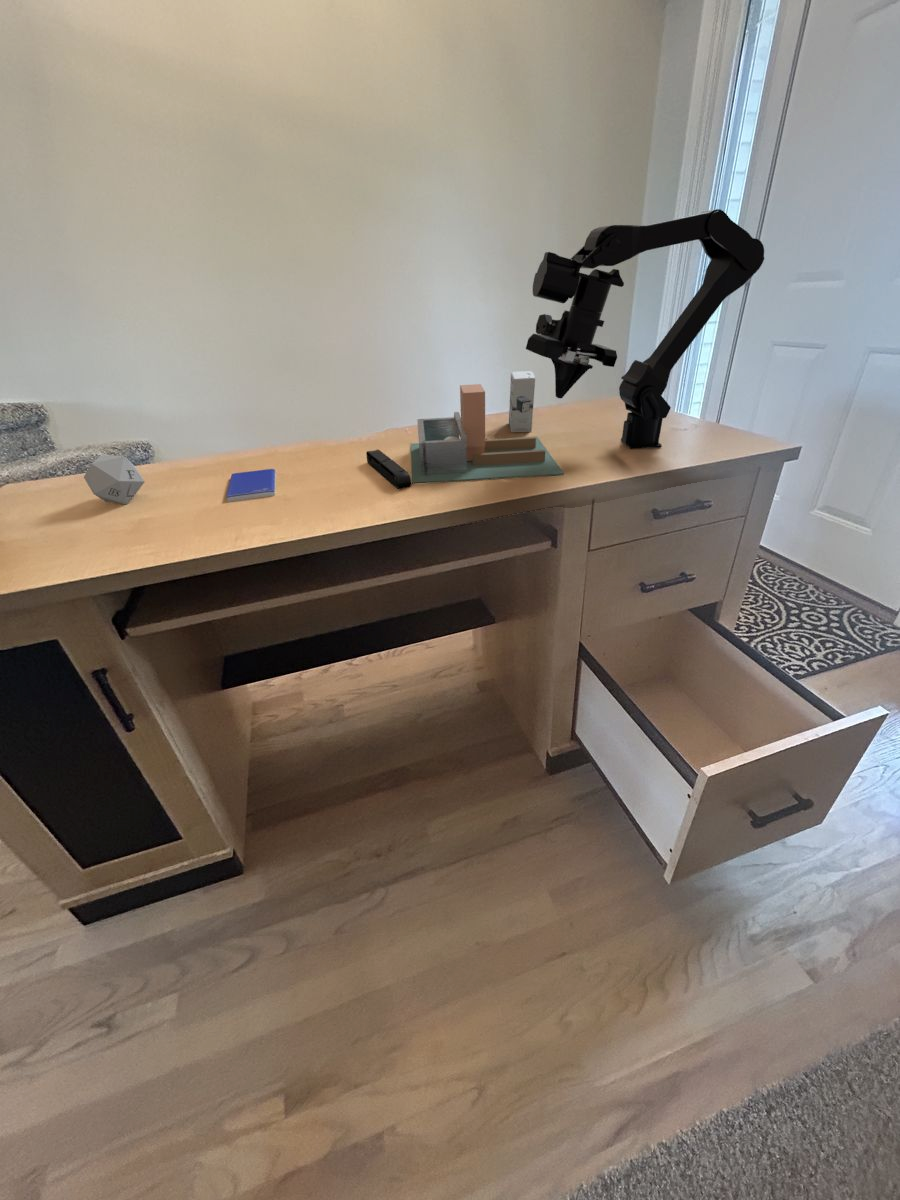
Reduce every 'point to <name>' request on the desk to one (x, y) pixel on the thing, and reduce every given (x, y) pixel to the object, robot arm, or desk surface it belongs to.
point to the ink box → (521, 401)
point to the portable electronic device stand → (389, 469)
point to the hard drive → (251, 485)
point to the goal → (442, 445)
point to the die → (113, 479)
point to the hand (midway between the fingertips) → (558, 397)
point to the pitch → (496, 462)
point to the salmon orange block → (473, 418)
